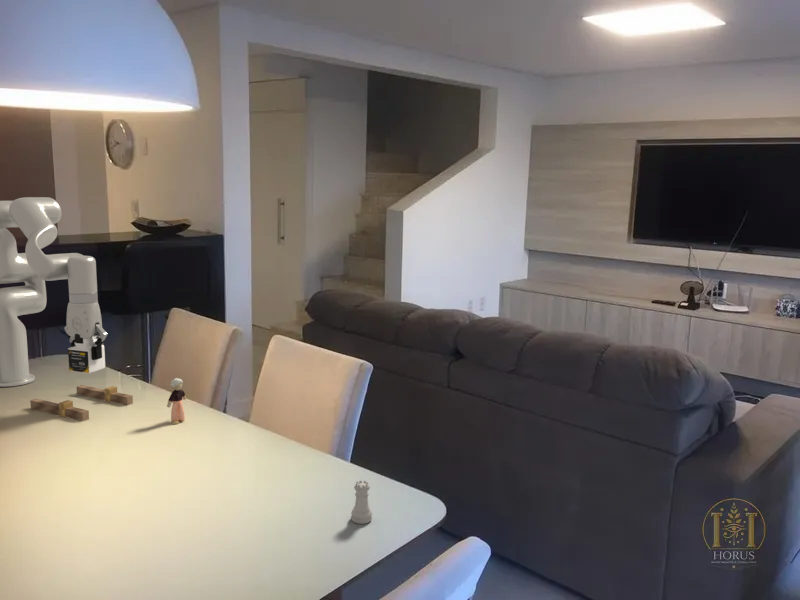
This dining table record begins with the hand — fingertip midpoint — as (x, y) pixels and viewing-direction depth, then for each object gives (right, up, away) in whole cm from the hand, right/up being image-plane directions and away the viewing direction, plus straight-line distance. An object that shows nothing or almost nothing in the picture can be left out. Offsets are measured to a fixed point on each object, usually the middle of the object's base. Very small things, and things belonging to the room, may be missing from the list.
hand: (86, 356), depth 204 cm
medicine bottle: (0, -4, +1) cm, 4 cm away
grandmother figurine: (+29, -18, -7) cm, 35 cm away
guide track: (-3, -15, +4) cm, 16 cm away
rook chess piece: (+85, -29, -62) cm, 108 cm away
